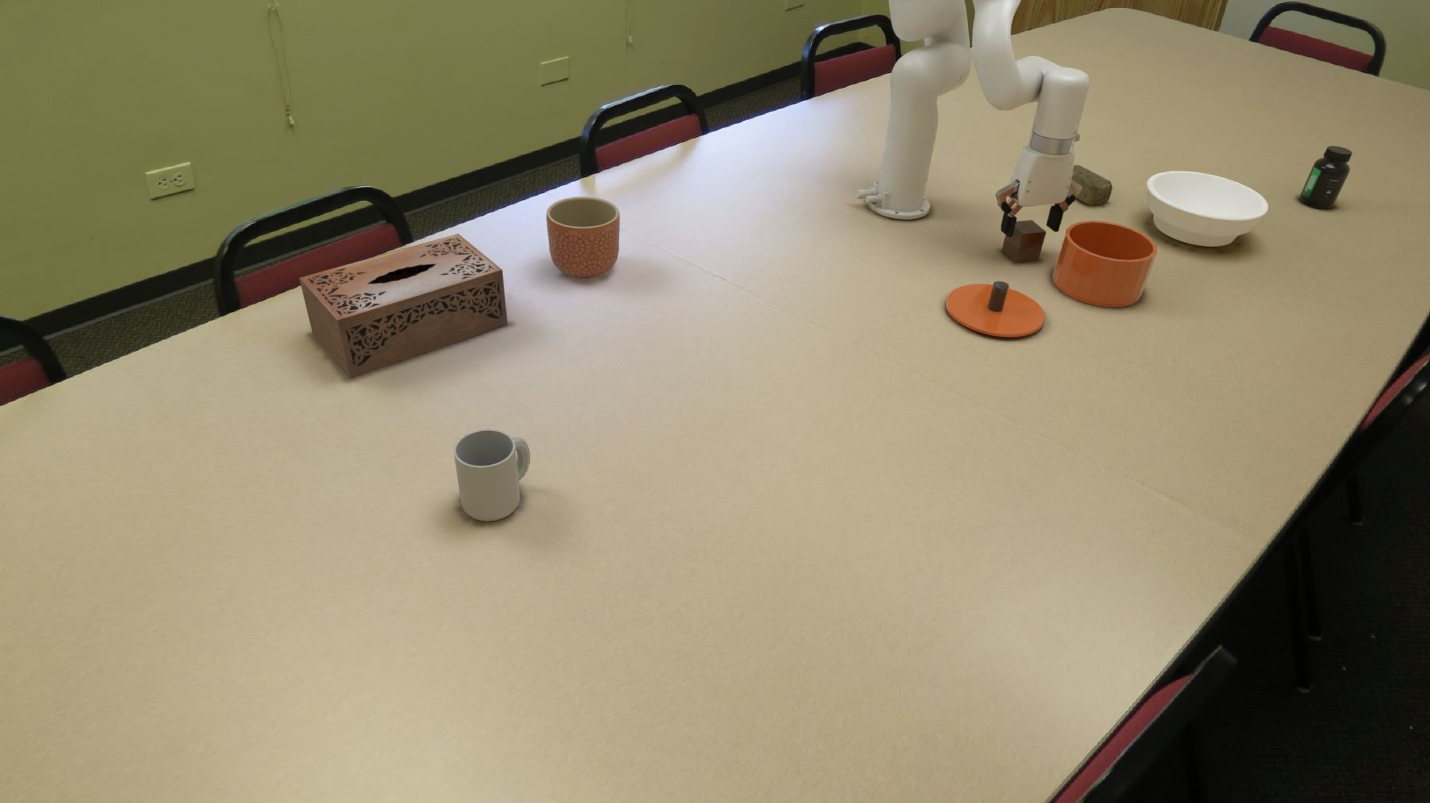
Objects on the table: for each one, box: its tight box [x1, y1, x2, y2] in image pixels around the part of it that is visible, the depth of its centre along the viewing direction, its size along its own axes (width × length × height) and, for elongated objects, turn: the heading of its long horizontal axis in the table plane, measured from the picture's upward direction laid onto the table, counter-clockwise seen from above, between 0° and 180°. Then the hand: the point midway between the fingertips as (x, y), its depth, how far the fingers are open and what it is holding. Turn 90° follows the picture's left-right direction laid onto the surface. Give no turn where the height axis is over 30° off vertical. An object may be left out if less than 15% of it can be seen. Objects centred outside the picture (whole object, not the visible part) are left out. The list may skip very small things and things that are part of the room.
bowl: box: [1146, 170, 1269, 247], centre depth 191 cm, size 22×22×8 cm
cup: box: [453, 428, 531, 522], centre depth 118 cm, size 7×10×9 cm
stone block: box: [1068, 164, 1113, 206], centre depth 203 cm, size 6×12×5 cm, turn 28°
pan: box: [1052, 220, 1158, 308], centre depth 170 cm, size 15×15×9 cm
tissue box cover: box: [299, 233, 508, 379], centre depth 147 cm, size 26×14×10 cm, turn 129°
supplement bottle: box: [1298, 145, 1353, 210], centre depth 205 cm, size 7×7×12 cm
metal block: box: [1001, 219, 1047, 264], centre depth 179 cm, size 5×5×6 cm
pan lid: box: [945, 280, 1045, 338], centre depth 161 cm, size 16×16×6 cm
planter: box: [545, 196, 621, 279], centre depth 165 cm, size 12×12×11 cm
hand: (1029, 231), depth 178 cm, fingers open, 9 cm apart
